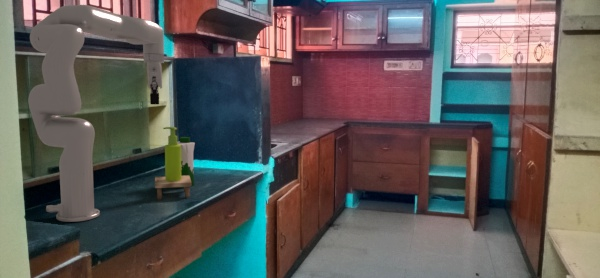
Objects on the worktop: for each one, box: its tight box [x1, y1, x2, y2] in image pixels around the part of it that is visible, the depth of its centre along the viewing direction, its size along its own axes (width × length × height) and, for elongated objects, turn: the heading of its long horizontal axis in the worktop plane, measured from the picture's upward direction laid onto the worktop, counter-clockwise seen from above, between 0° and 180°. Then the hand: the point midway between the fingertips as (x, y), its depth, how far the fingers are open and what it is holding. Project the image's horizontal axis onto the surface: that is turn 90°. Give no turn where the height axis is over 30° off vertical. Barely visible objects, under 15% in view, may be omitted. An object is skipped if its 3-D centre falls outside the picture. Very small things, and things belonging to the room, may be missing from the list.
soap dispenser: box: [162, 126, 181, 181], centre depth 180 cm, size 6×7×20 cm
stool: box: [154, 175, 192, 201], centre depth 181 cm, size 13×13×6 cm
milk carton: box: [177, 136, 196, 189], centre depth 196 cm, size 9×9×20 cm
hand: (154, 103), depth 185 cm, fingers open, 9 cm apart
